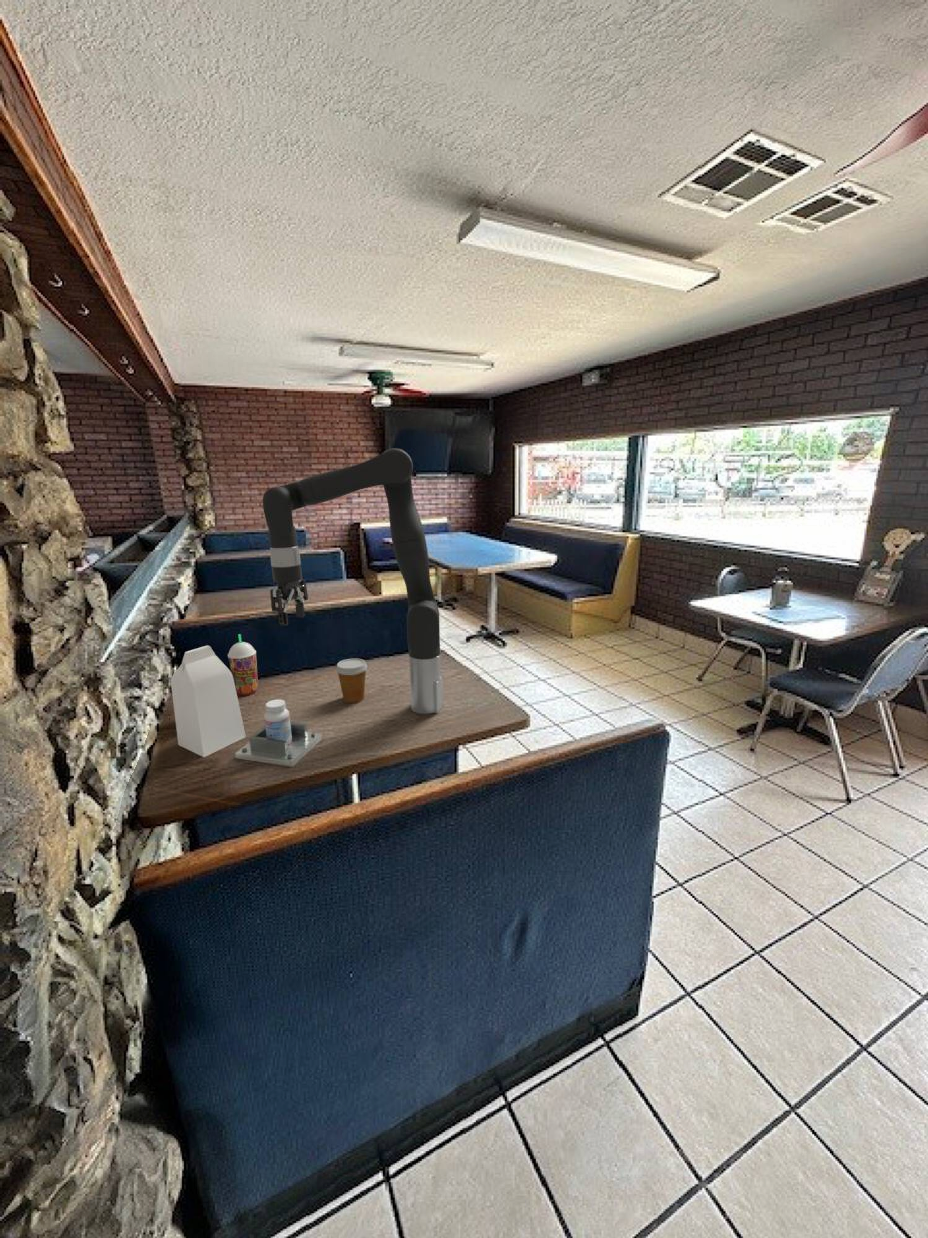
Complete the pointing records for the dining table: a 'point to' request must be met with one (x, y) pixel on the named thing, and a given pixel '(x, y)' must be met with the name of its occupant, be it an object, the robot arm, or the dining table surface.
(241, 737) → the milk
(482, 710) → the dining table surface
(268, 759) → the mounting bracket
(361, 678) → the disposable coffee cup
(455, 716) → the dining table surface
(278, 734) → the pill bottle
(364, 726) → the dining table surface
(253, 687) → the smoothie
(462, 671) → the dining table surface
